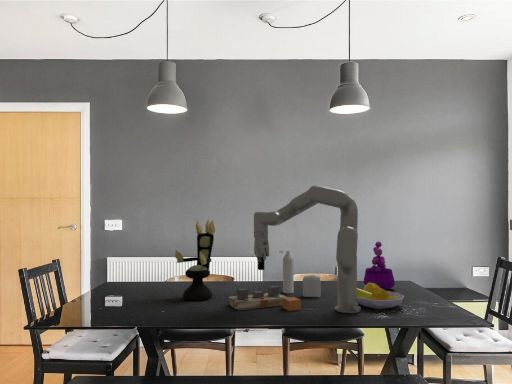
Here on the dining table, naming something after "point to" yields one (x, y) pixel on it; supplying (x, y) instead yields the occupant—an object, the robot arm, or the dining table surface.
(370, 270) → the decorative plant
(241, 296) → the block
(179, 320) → the dining table surface
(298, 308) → the cap
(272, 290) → the block
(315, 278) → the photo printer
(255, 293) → the block
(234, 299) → the breaker board
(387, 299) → the fruit bowl
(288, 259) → the water bottle
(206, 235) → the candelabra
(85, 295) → the dining table surface
